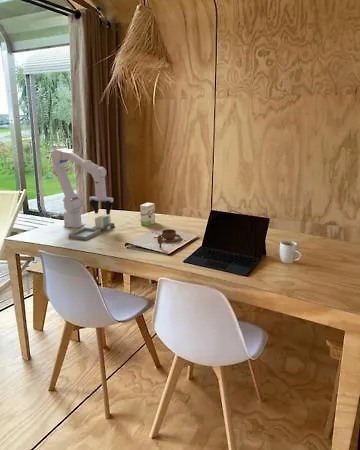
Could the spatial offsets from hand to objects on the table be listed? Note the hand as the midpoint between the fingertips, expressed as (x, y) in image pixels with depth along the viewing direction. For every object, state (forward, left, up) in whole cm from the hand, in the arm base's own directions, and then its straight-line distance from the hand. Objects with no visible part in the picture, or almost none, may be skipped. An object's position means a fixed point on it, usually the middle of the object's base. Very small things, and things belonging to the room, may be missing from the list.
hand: (102, 213), depth 203 cm
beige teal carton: (0, 0, -9) cm, 9 cm away
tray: (-2, -14, -9) cm, 16 cm away
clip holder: (0, 0, -9) cm, 9 cm away
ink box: (+19, +17, -9) cm, 27 cm away
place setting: (+41, -8, -10) cm, 43 cm away
